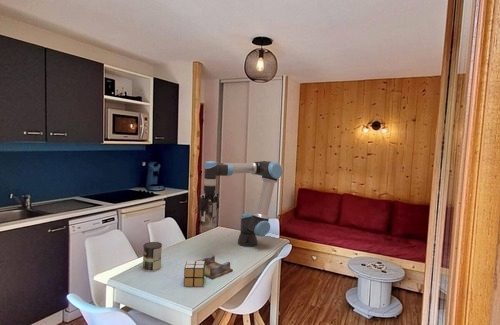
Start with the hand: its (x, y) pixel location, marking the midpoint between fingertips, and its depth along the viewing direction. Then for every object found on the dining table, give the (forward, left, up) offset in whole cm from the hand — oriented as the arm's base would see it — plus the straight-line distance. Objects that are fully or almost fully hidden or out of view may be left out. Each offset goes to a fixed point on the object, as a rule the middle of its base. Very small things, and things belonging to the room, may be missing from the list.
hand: (208, 220), depth 189 cm
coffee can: (+34, -9, -26) cm, 43 cm away
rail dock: (+10, +17, -25) cm, 32 cm away
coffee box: (0, 0, -4) cm, 4 cm away
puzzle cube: (+27, +22, -26) cm, 43 cm away
